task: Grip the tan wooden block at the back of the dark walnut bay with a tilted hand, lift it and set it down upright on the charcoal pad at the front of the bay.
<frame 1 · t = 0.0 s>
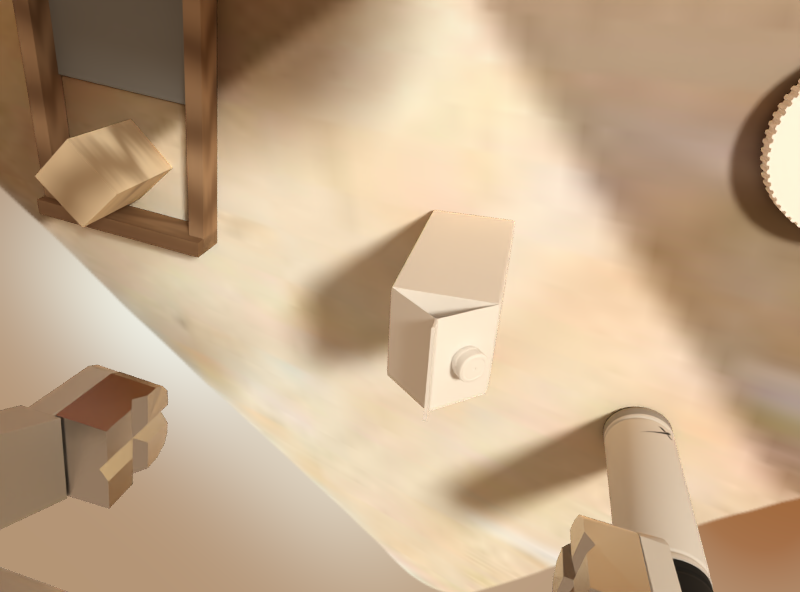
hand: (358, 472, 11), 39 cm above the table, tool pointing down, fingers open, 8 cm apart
tan wooden block: (135, 160, 54), resting in bay
milk carton: (469, 250, 51), on the table
bay: (130, 101, 51), on the table
travel mug: (636, 428, 55), on the table
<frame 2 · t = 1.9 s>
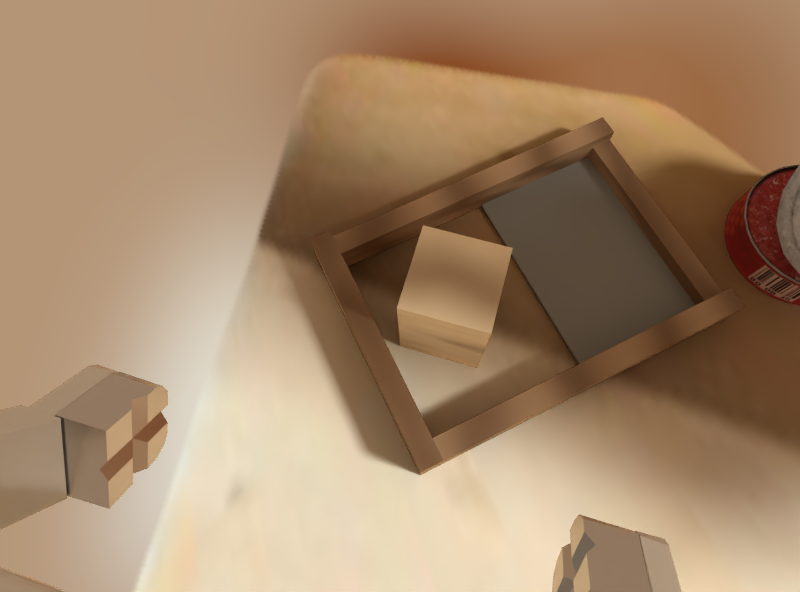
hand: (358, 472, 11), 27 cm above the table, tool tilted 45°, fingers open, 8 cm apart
tan wooden block: (448, 320, 40), resting in bay
bay: (515, 288, 41), on the table
canned food: (790, 245, 42), on the table
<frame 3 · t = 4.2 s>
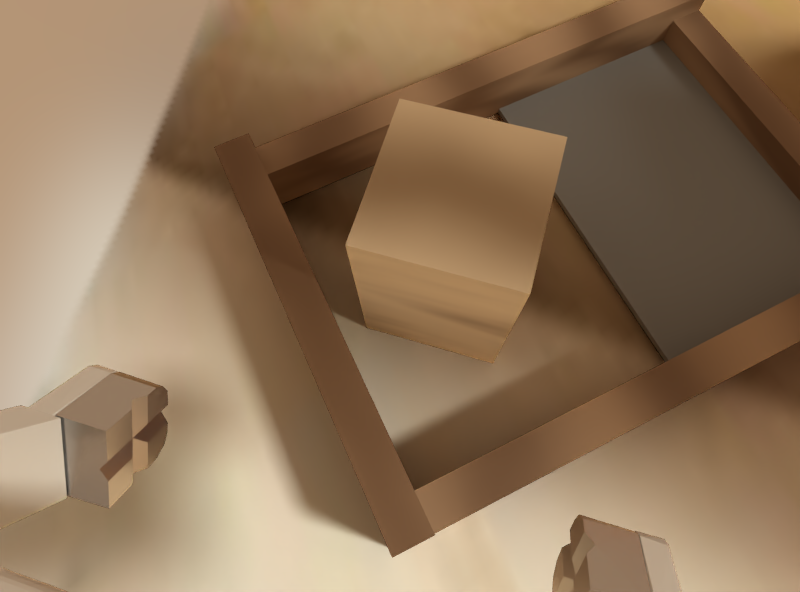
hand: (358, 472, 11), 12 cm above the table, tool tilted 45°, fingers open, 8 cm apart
tan wooden block: (445, 286, 25), resting in bay
bay: (555, 235, 25), on the table
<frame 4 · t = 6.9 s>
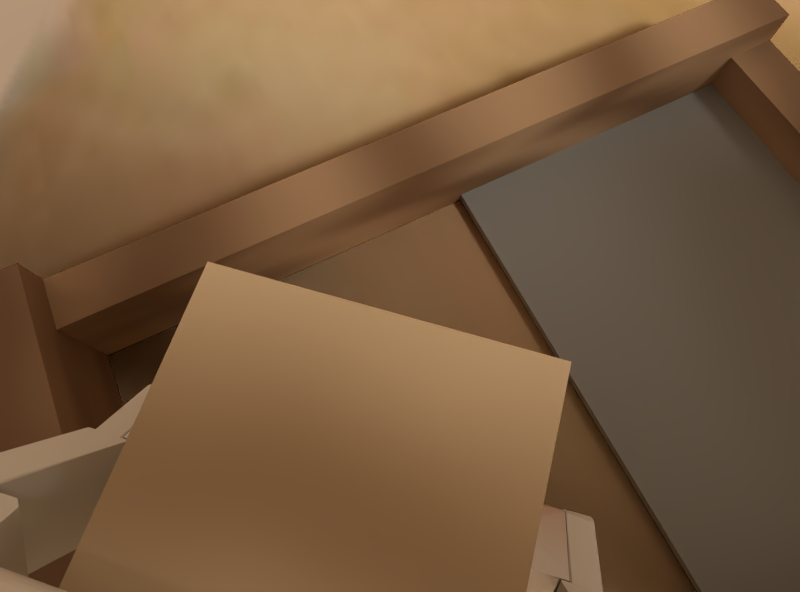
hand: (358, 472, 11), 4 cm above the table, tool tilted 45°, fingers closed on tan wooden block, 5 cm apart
tan wooden block: (366, 507, 15), resting in bay, touching gripper
bay: (548, 414, 15), on the table
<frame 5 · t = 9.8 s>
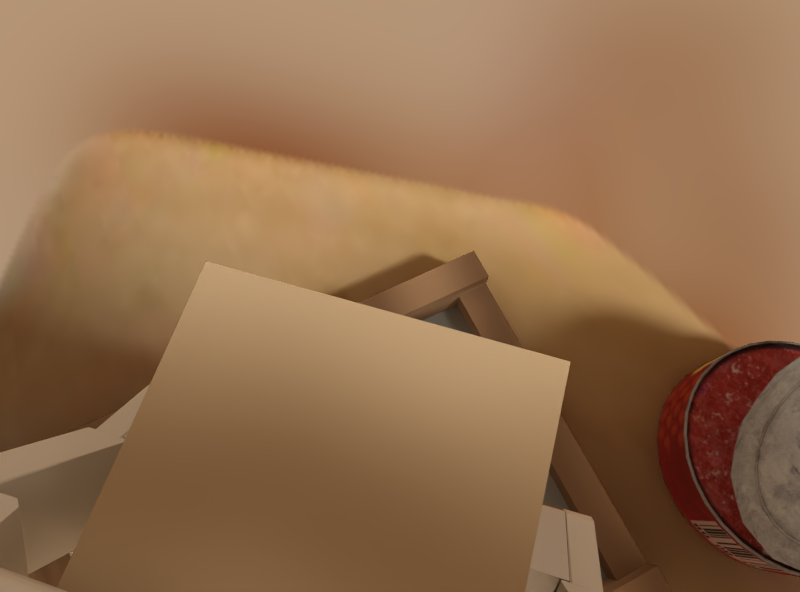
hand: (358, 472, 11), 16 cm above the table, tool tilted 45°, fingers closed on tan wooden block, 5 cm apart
tan wooden block: (365, 507, 15), point 12 cm above the table, touching gripper
bay: (322, 533, 26), on the table
canned food: (759, 459, 27), on the table
when the fingers open (6 cm above the table, at t = 13.2 s): tan wooden block drops 1 cm, resting on bay.
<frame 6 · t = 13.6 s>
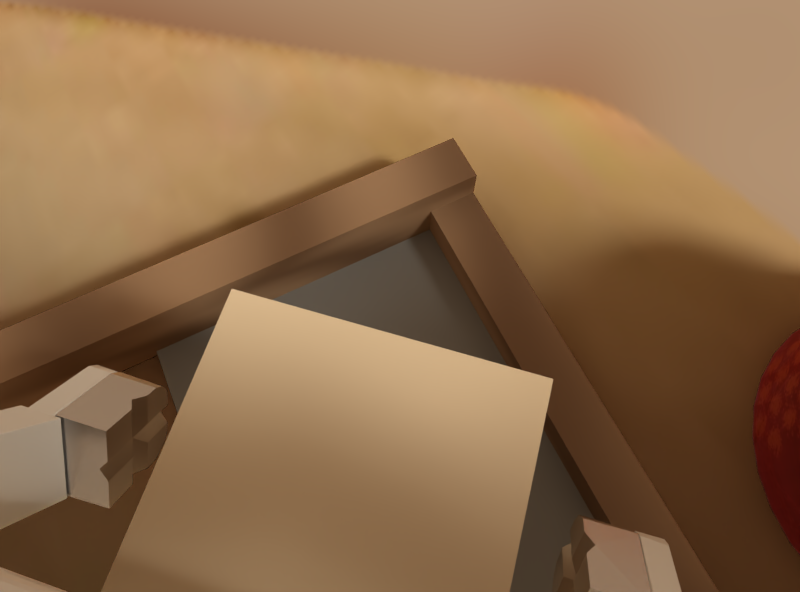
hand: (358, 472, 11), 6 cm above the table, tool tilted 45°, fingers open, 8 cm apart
tan wooden block: (369, 507, 16), resting on bay
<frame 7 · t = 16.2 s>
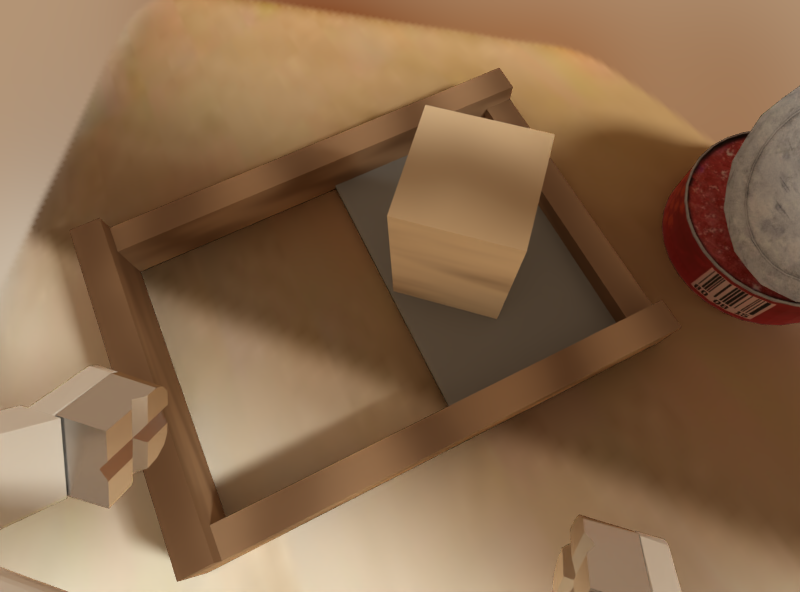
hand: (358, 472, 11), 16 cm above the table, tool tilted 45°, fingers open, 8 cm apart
tan wooden block: (458, 258, 30), resting on bay
bay: (372, 299, 30), on the table
canned food: (752, 241, 31), on the table
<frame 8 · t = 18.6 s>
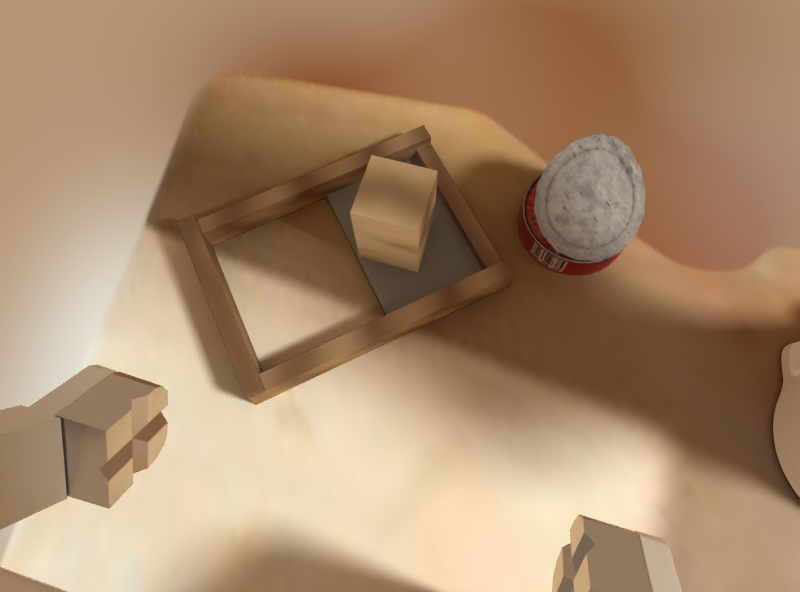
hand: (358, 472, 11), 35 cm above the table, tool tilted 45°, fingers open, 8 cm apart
tan wooden block: (397, 237, 52), resting on bay
bay: (346, 261, 51), on the table
canned food: (571, 228, 52), on the table
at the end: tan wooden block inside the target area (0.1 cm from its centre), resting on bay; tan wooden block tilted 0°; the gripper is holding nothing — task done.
